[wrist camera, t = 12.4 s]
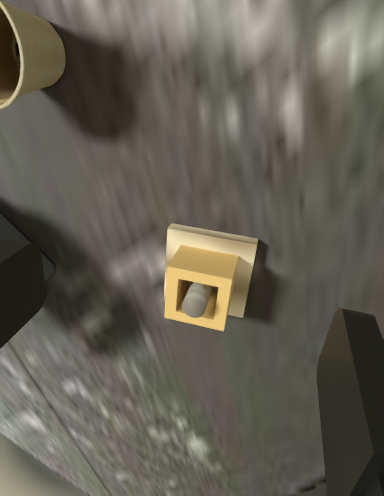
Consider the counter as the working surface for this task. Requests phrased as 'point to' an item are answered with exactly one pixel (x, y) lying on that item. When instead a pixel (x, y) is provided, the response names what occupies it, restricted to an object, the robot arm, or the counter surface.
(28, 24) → the flower pot
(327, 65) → the counter surface
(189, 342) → the counter surface
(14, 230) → the storage bin
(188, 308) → the post stand
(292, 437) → the counter surface
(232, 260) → the ring
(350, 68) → the counter surface
